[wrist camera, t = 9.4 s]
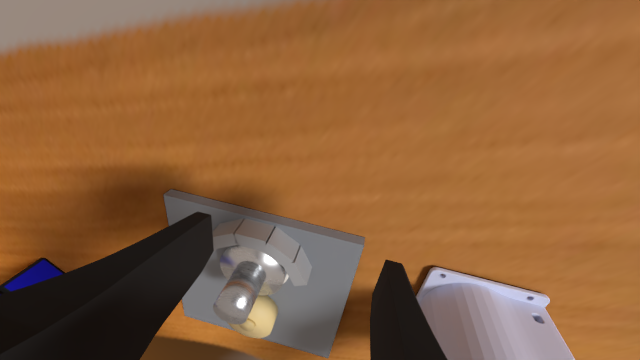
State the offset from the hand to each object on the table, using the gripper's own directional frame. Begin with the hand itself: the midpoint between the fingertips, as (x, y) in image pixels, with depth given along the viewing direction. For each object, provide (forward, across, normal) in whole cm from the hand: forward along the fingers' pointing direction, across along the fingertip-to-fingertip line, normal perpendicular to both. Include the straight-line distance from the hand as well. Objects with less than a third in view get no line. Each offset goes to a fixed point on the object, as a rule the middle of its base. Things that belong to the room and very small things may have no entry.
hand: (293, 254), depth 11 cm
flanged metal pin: (+9, +5, +12) cm, 16 cm away
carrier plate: (+10, +5, +16) cm, 20 cm away
